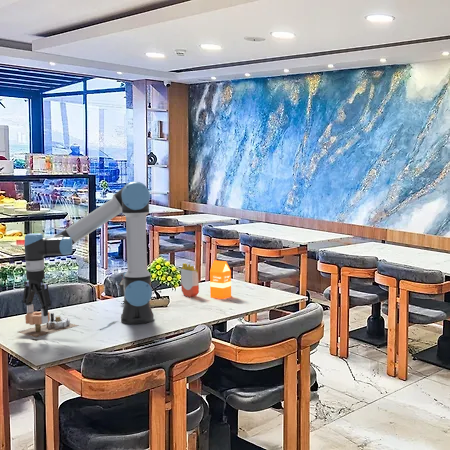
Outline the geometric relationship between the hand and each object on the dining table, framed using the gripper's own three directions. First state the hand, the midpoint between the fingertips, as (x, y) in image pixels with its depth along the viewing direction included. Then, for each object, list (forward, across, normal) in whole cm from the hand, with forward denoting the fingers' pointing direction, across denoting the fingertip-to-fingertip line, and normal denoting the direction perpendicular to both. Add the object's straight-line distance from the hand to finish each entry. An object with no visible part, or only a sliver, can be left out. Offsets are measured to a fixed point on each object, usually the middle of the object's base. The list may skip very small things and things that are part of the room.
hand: (37, 321), depth 247 cm
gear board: (+6, 0, +5) cm, 8 cm away
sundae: (+6, -14, +63) cm, 65 cm away
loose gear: (0, 0, 0) cm, 0 cm away
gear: (+4, 0, +10) cm, 11 cm away
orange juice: (+6, +20, +102) cm, 104 cm away
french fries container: (+6, +4, +95) cm, 95 cm away
